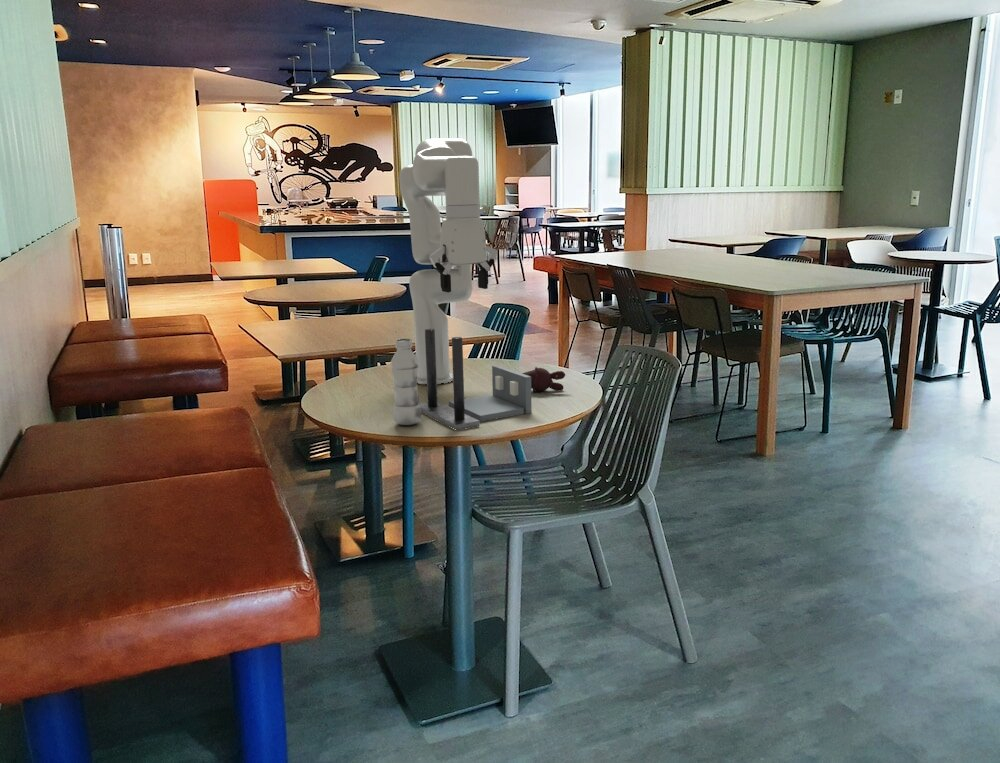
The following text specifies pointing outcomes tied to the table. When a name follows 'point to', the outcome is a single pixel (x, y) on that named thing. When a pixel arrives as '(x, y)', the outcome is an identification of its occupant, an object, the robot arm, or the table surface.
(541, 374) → the dark brown rounded figure
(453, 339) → the cord gate
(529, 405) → the switch board
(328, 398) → the table surface
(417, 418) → the silver bottle
